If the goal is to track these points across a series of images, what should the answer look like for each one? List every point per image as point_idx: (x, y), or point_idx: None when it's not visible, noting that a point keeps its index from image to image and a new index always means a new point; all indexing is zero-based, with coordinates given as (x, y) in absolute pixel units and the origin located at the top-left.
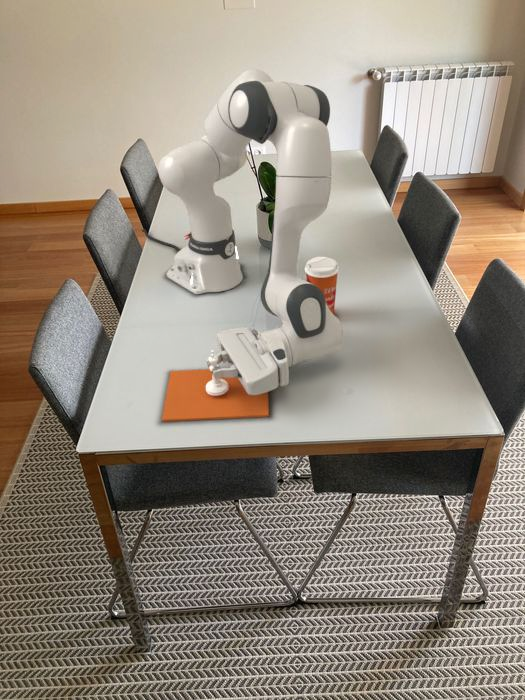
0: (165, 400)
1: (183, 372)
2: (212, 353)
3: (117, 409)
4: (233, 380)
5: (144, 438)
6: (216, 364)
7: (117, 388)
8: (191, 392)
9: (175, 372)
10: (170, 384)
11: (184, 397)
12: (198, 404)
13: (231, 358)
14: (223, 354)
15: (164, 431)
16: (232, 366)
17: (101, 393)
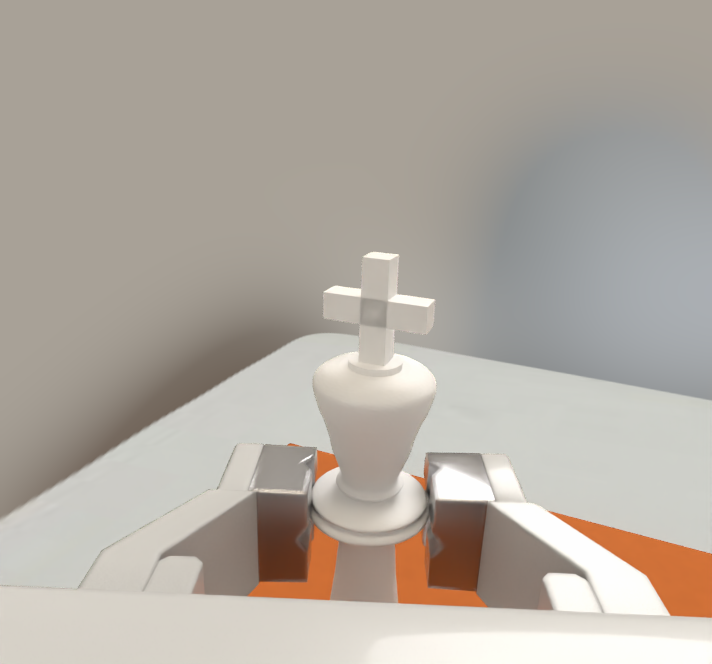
0: (424, 479)
1: (706, 613)
2: (367, 289)
3: (455, 387)
4: None
5: (239, 405)
6: (338, 459)
7: (593, 403)
8: (440, 590)
9: (704, 572)
10: (566, 523)
11: (406, 546)
12: (289, 587)
13: (336, 605)
14: (552, 588)
15: (222, 449)
16: (164, 588)
17: (569, 375)
